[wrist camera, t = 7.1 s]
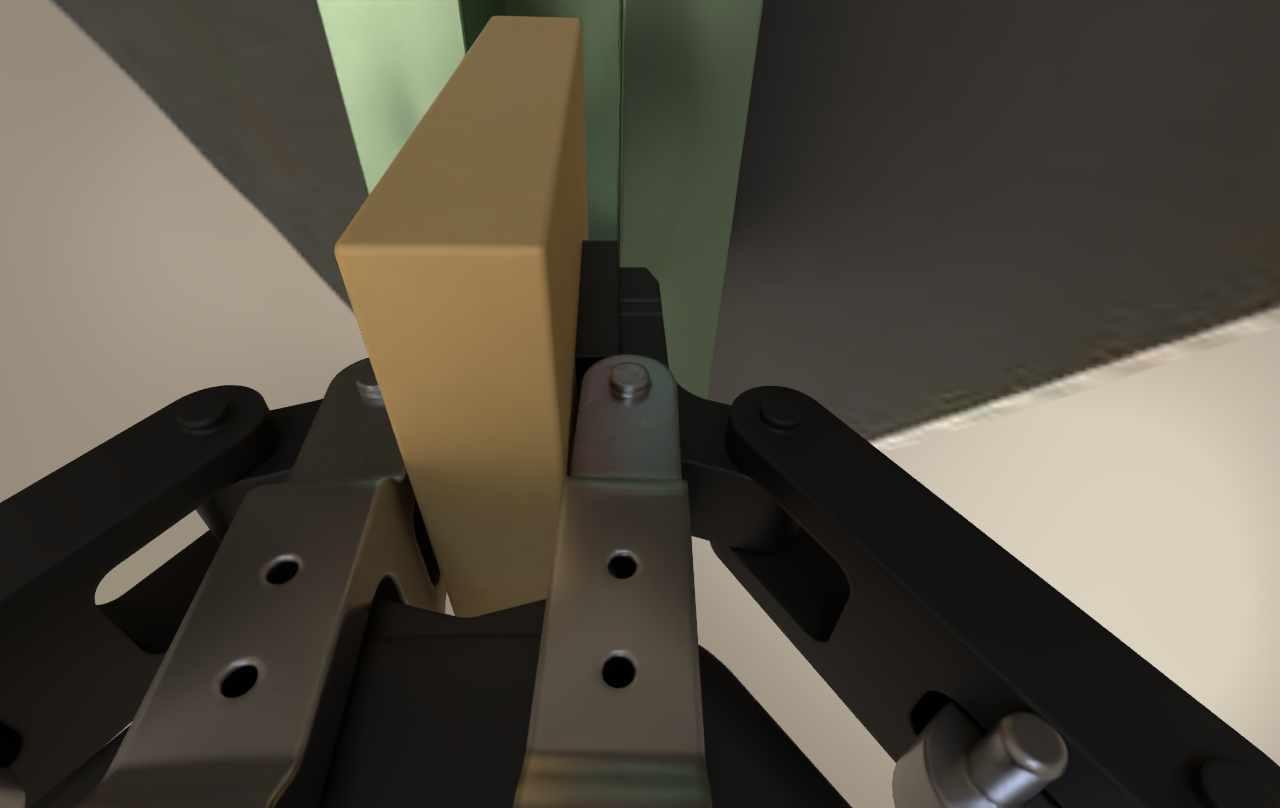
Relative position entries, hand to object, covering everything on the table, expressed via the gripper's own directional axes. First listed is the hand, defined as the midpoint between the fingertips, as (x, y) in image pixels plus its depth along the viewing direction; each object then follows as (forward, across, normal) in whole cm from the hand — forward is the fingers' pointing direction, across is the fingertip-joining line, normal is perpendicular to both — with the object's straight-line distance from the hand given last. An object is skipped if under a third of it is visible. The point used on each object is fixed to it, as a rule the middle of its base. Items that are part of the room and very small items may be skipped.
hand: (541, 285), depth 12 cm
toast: (+2, 0, 0) cm, 2 cm away
